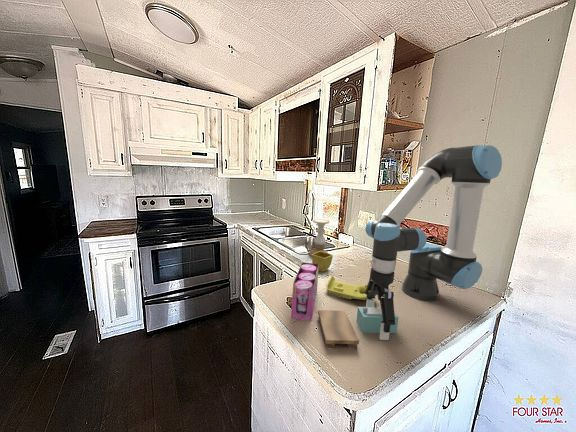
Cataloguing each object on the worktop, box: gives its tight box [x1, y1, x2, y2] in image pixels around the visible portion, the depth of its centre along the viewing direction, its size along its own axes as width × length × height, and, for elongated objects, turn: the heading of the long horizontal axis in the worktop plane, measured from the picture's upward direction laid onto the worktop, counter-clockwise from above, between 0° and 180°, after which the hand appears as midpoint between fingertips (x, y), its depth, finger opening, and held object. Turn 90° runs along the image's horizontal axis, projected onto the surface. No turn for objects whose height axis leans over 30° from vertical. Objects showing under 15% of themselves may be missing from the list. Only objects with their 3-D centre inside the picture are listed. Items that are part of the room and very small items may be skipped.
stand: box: [317, 309, 360, 350], centre depth 80 cm, size 10×16×3 cm, turn 2°
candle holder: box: [307, 218, 330, 259], centre depth 151 cm, size 11×11×24 cm
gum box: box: [290, 261, 319, 322], centre depth 95 cm, size 24×8×14 cm, turn 168°
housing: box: [356, 306, 399, 334], centre depth 83 cm, size 12×6×7 cm, turn 92°
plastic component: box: [326, 275, 368, 301], centre depth 105 cm, size 20×7×10 cm
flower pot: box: [311, 251, 334, 273], centre depth 132 cm, size 9×9×9 cm
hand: (375, 326), depth 84 cm, fingers open, 12 cm apart
